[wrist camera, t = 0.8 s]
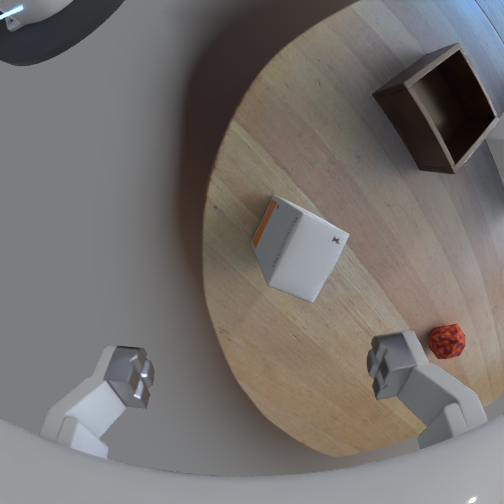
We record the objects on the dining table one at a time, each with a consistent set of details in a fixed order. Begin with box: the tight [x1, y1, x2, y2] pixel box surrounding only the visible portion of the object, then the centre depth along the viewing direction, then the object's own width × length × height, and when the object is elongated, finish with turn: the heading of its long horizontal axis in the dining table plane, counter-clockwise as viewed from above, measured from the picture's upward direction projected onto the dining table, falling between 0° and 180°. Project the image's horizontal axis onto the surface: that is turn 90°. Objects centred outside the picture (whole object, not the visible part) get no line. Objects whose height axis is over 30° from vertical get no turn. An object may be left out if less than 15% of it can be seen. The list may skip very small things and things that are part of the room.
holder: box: [372, 43, 499, 174], centre depth 26 cm, size 12×14×7 cm
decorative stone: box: [429, 324, 465, 359], centre depth 38 cm, size 6×7×8 cm
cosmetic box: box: [251, 195, 349, 303], centre depth 26 cm, size 6×4×12 cm
